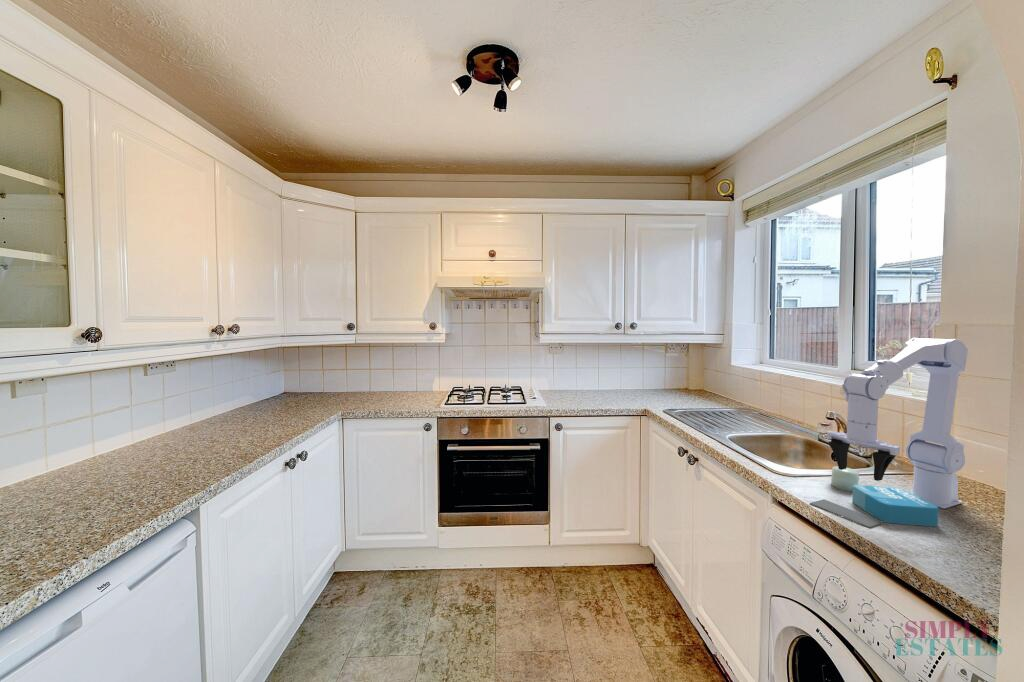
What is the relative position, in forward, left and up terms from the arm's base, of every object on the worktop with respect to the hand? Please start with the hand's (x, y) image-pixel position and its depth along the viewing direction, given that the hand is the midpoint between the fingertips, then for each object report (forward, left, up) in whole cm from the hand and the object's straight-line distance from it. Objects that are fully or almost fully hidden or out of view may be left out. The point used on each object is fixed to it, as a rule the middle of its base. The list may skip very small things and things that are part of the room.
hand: (859, 474), depth 100 cm
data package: (-1, +1, -7) cm, 7 cm away
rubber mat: (+5, 0, -9) cm, 11 cm away
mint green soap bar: (-13, -10, -9) cm, 19 cm away
